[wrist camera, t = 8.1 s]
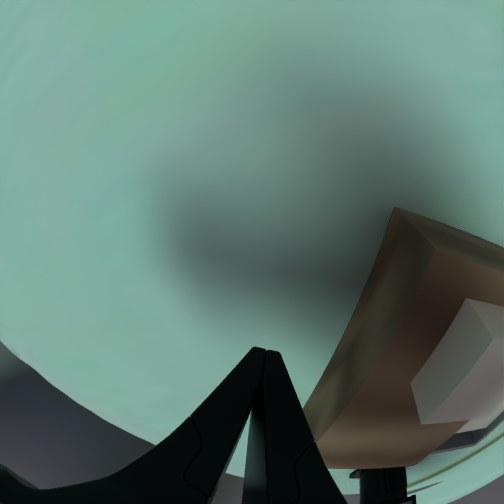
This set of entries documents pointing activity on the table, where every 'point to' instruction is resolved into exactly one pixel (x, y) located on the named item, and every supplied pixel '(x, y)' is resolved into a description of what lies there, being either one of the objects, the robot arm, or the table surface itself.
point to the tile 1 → (464, 368)
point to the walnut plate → (399, 344)
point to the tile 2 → (482, 420)
